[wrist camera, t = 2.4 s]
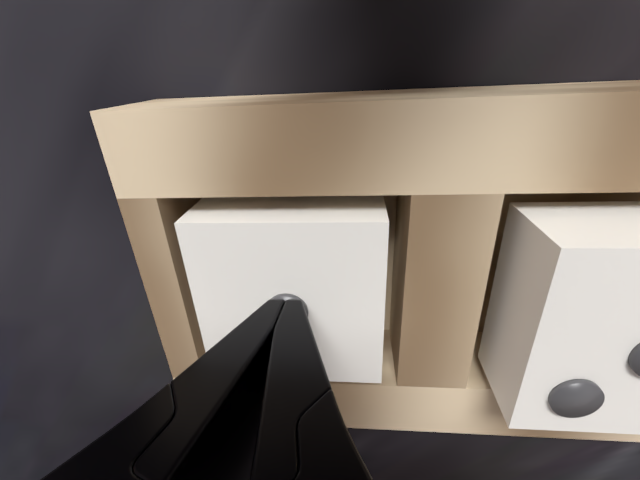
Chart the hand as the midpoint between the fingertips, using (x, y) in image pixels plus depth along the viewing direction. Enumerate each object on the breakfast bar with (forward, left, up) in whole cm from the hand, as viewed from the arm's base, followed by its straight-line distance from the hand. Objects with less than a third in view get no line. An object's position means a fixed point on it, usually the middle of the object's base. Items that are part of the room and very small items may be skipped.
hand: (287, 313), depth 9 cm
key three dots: (-8, 0, -1) cm, 8 cm away
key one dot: (0, 0, -2) cm, 2 cm away
